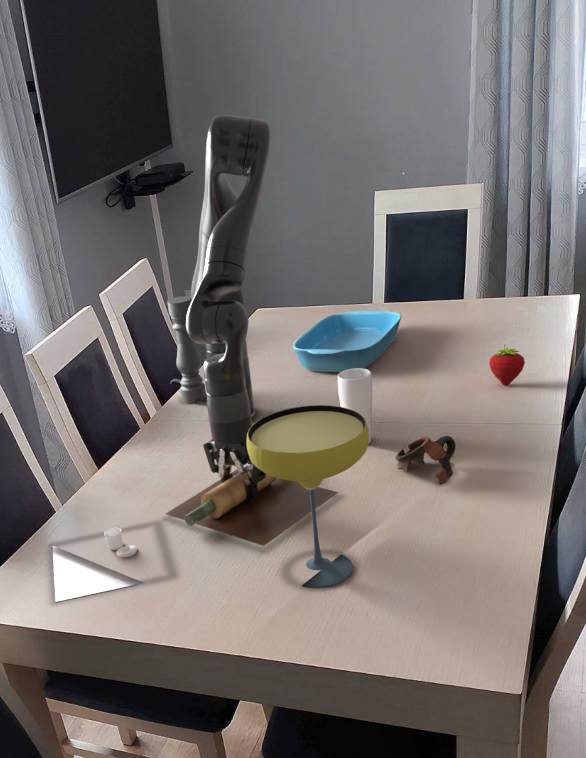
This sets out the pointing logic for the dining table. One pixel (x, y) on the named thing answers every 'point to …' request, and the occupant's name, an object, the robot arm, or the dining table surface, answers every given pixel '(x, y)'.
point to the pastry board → (260, 510)
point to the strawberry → (506, 365)
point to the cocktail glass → (310, 461)
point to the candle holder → (186, 352)
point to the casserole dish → (347, 340)
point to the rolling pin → (224, 498)
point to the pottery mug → (433, 450)
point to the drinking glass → (356, 392)
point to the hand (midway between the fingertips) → (240, 496)
